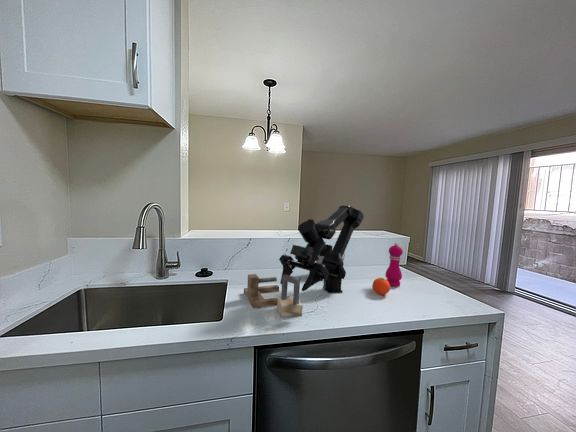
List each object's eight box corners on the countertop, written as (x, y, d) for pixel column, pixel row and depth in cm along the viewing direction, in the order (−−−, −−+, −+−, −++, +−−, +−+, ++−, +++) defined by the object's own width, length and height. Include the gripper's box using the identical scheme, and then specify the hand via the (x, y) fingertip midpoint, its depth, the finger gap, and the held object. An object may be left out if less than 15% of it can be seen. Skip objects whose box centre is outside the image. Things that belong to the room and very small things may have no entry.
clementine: (372, 289, 112) (373, 273, 112) (389, 292, 110) (390, 275, 109) (371, 295, 105) (372, 278, 104) (389, 298, 102) (391, 281, 102)
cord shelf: (277, 289, 106) (278, 268, 105) (290, 303, 93) (292, 279, 93) (243, 293, 101) (244, 270, 100) (253, 308, 88) (254, 282, 87)
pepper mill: (384, 285, 118) (387, 242, 116) (384, 281, 125) (388, 240, 123) (401, 288, 115) (405, 244, 114) (400, 283, 122) (404, 242, 120)
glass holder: (315, 271, 134) (316, 243, 133) (342, 274, 131) (344, 245, 130) (313, 276, 126) (315, 246, 124) (343, 280, 123) (345, 249, 122)
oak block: (296, 306, 91) (297, 296, 91) (302, 315, 84) (302, 305, 84) (277, 307, 89) (277, 297, 89) (281, 316, 83) (281, 306, 82)
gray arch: (284, 297, 89) (285, 274, 89) (298, 303, 85) (300, 278, 84) (281, 299, 88) (282, 275, 87) (295, 304, 84) (297, 279, 83)
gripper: (283, 233, 95) (260, 267, 88) (327, 240, 83) (304, 281, 76) (295, 251, 102) (275, 284, 94) (337, 260, 90) (317, 299, 82)
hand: (291, 287), depth 87 cm, fingers open, 9 cm apart
